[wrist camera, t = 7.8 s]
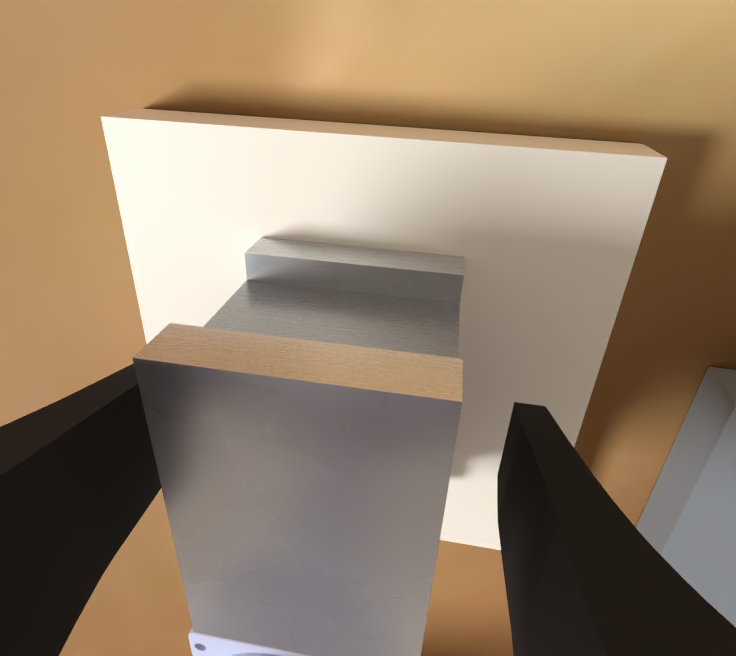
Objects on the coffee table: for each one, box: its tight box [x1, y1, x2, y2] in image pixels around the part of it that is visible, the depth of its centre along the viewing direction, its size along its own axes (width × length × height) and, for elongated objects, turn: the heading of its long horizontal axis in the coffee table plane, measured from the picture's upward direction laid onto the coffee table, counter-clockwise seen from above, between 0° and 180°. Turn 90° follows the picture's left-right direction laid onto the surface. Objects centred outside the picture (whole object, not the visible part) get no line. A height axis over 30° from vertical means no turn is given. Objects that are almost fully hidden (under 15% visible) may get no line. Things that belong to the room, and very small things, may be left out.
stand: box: [101, 108, 667, 550], centre depth 13 cm, size 11×11×2 cm
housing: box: [133, 237, 464, 656], centre depth 10 cm, size 6×4×5 cm
